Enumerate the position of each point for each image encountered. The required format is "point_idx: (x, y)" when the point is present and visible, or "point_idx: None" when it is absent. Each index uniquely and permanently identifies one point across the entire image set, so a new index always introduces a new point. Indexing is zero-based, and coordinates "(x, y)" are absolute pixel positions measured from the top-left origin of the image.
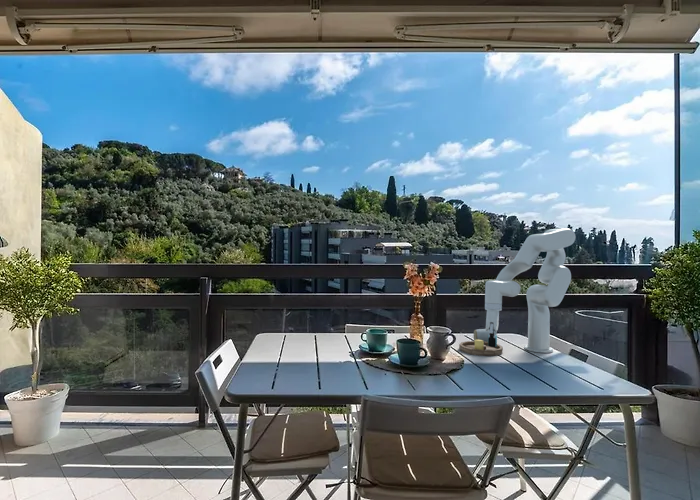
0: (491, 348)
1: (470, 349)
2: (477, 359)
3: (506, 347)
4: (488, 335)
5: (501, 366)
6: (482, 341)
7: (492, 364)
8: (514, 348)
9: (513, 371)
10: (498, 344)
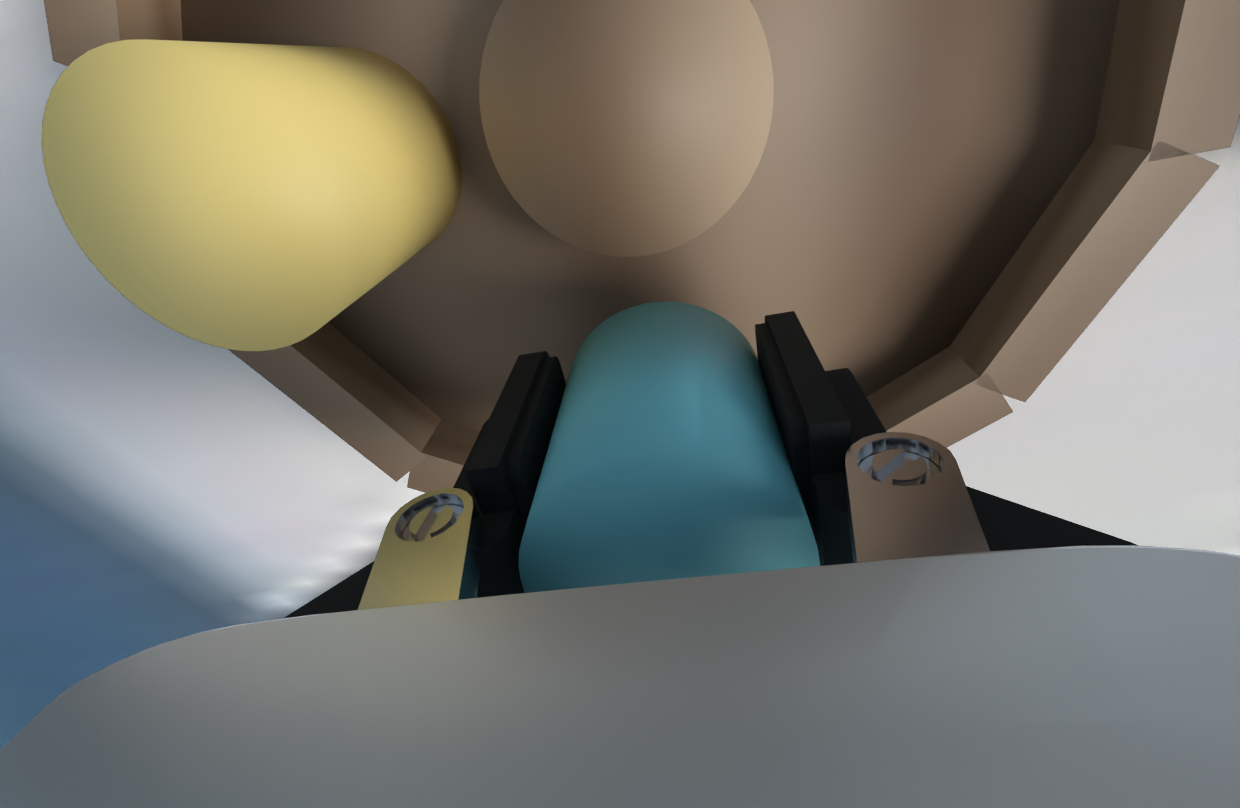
0: (795, 303)
1: (61, 12)
2: (6, 278)
3: (1210, 437)
4: (566, 479)
5: (61, 583)
6: (198, 339)
7: (23, 502)
8: (1158, 544)
9: (36, 676)
10: (989, 422)
